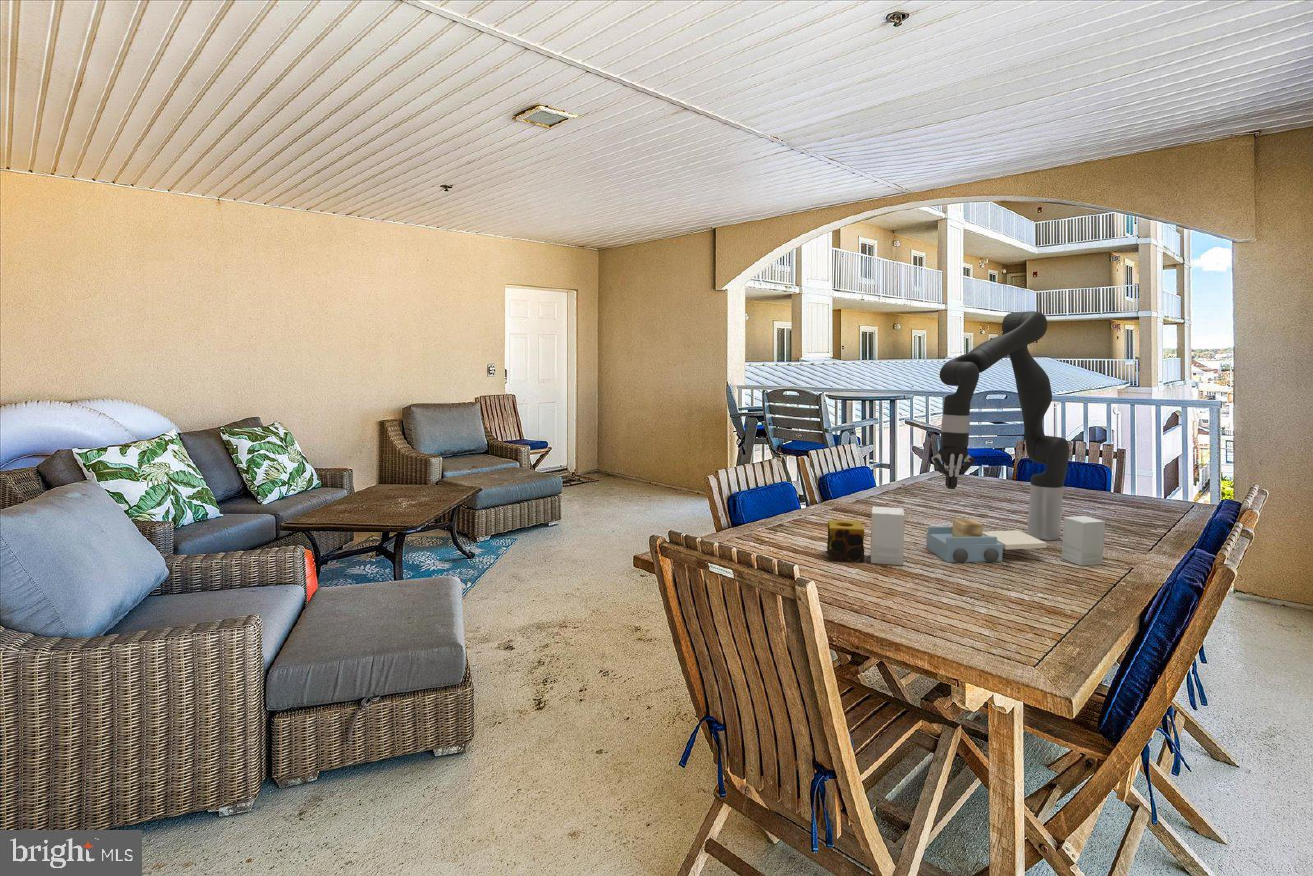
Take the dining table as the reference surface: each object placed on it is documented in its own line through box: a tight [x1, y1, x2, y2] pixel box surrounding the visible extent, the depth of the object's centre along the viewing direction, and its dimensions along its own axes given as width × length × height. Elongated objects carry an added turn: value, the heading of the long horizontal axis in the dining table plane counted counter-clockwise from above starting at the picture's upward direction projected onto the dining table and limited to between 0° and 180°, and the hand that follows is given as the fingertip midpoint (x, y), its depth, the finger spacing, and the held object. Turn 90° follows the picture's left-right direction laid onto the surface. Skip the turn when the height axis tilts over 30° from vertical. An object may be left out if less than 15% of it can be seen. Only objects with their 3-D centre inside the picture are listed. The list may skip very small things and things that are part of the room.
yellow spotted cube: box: [826, 519, 865, 563], centre depth 194 cm, size 10×10×10 cm
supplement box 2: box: [1061, 515, 1106, 567], centre depth 189 cm, size 7×7×13 cm
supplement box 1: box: [870, 506, 906, 566], centre depth 191 cm, size 9×9×15 cm
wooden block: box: [952, 518, 984, 537], centre depth 196 cm, size 6×6×5 cm
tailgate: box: [982, 529, 1048, 550], centre depth 197 cm, size 1×14×12 cm
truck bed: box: [925, 525, 1004, 564], centre depth 196 cm, size 16×16×7 cm
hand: (950, 488), depth 193 cm, fingers closed
